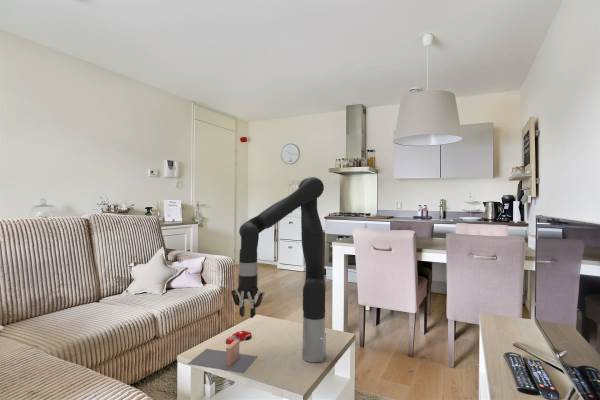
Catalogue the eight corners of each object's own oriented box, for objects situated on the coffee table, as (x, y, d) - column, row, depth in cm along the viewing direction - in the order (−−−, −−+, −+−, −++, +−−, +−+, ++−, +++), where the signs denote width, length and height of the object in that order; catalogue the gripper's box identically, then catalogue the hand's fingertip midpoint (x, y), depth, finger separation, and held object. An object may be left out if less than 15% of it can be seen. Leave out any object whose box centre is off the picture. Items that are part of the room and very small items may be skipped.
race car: (230, 347, 145) (230, 338, 145) (223, 344, 149) (223, 335, 149) (253, 339, 155) (253, 330, 155) (246, 335, 158) (246, 327, 158)
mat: (258, 357, 135) (258, 356, 135) (243, 374, 122) (243, 373, 122) (206, 350, 142) (206, 348, 142) (187, 365, 128) (187, 363, 128)
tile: (239, 357, 134) (239, 340, 134) (230, 366, 127) (230, 348, 127) (234, 356, 135) (235, 339, 135) (225, 365, 127) (225, 347, 127)
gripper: (268, 272, 131) (267, 315, 131) (236, 270, 135) (235, 311, 135) (261, 276, 124) (260, 322, 124) (227, 273, 128) (226, 318, 128)
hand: (247, 316), depth 129 cm, fingers open, 3 cm apart
